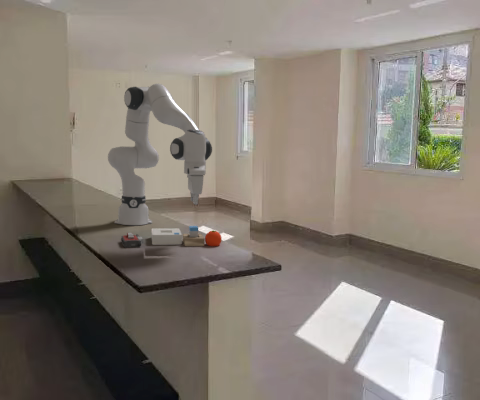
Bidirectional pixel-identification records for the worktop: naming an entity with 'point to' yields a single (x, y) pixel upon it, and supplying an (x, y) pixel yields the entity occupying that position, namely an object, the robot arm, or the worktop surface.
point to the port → (166, 236)
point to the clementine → (213, 238)
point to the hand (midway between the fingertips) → (194, 202)
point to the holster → (193, 240)
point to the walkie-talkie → (131, 240)
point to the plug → (193, 231)
